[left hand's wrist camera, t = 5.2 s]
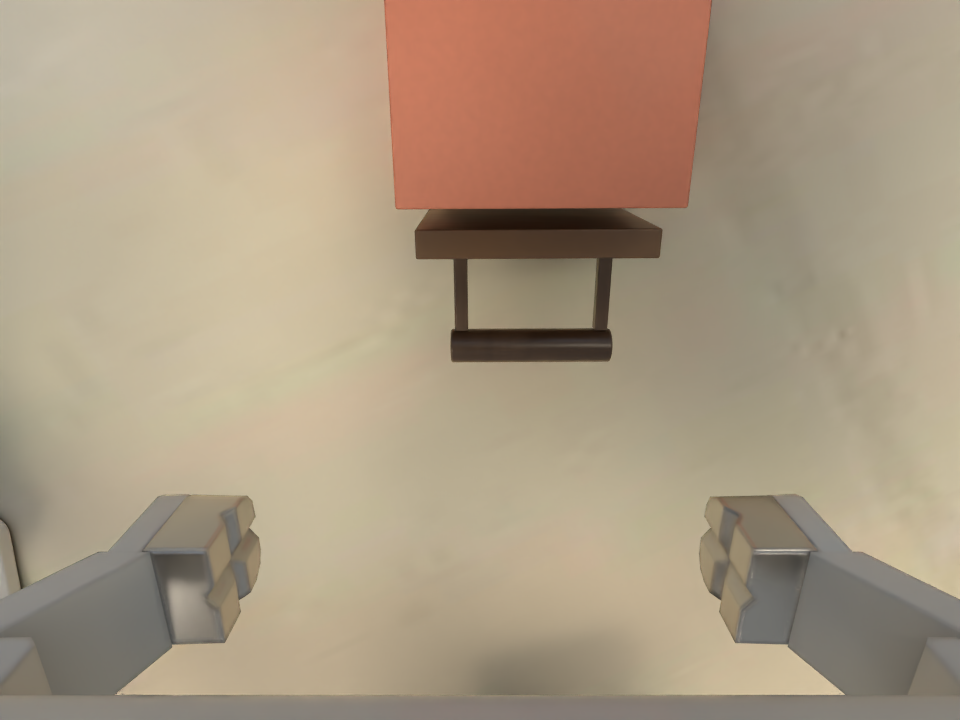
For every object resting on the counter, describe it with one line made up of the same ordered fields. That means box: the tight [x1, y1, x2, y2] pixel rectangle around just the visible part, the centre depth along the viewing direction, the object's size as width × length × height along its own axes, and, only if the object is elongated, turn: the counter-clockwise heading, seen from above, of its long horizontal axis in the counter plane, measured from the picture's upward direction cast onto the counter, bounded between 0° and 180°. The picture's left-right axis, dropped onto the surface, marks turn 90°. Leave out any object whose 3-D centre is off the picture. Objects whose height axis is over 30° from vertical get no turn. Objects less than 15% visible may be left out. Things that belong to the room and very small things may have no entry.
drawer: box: [415, 208, 662, 362], centre depth 26 cm, size 24×10×8 cm, turn 0°
